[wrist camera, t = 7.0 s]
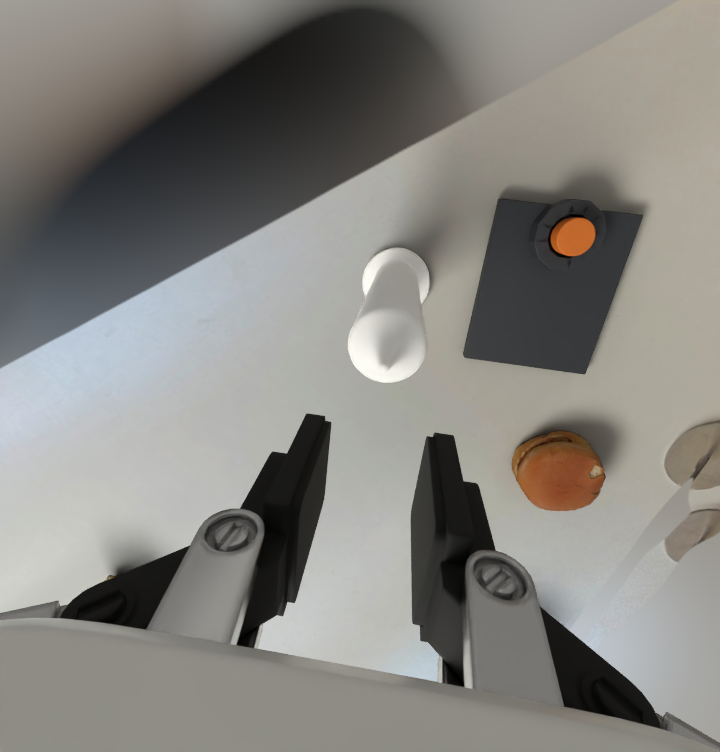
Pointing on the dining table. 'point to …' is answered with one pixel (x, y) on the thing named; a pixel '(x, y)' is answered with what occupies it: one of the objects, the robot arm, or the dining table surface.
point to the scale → (546, 286)
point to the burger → (558, 471)
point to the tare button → (573, 236)
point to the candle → (391, 317)
